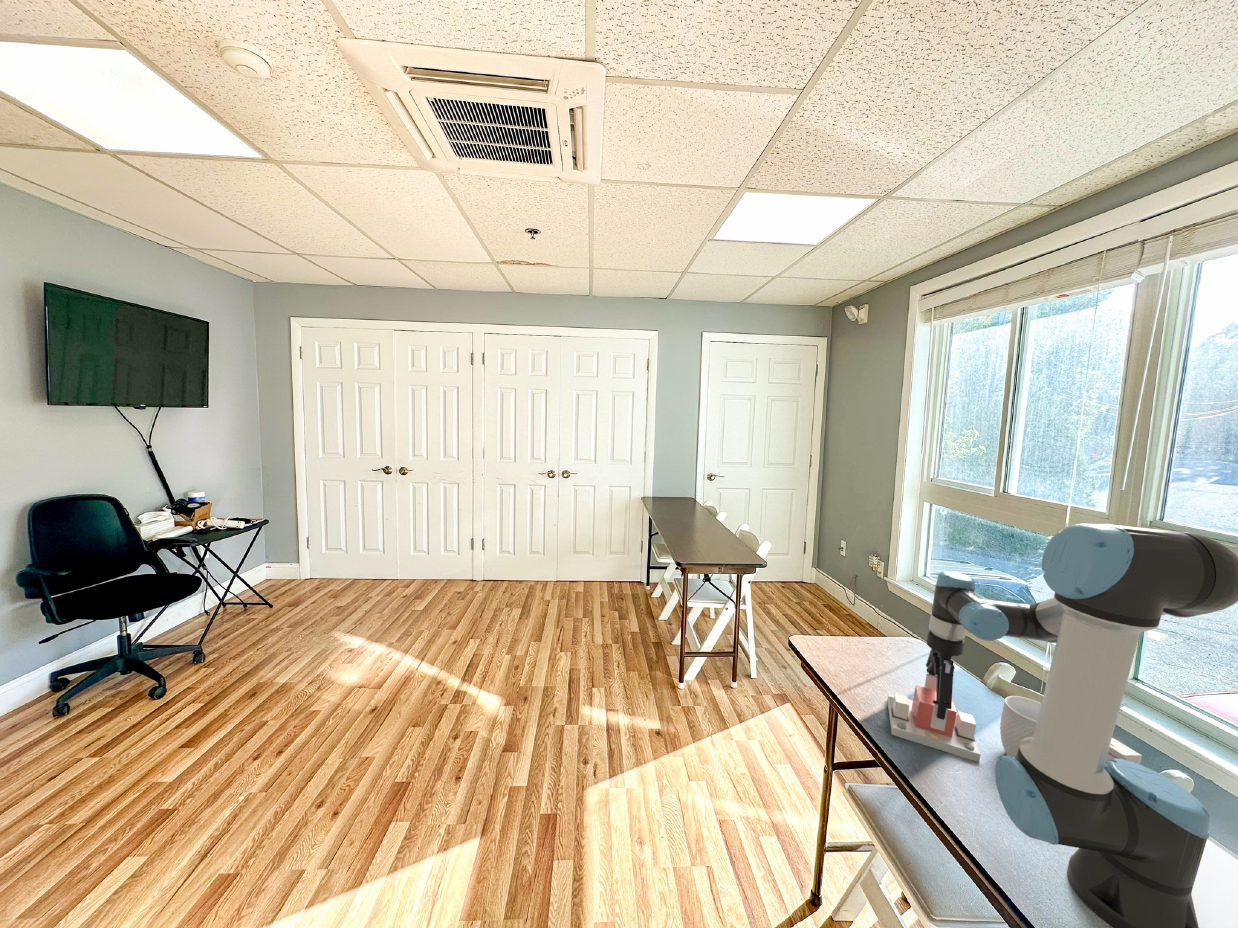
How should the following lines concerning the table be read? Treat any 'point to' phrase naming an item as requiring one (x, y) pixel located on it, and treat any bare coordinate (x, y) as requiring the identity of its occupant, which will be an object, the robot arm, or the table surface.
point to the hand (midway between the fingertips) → (932, 712)
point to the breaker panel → (932, 735)
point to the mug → (1018, 722)
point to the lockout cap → (930, 711)
